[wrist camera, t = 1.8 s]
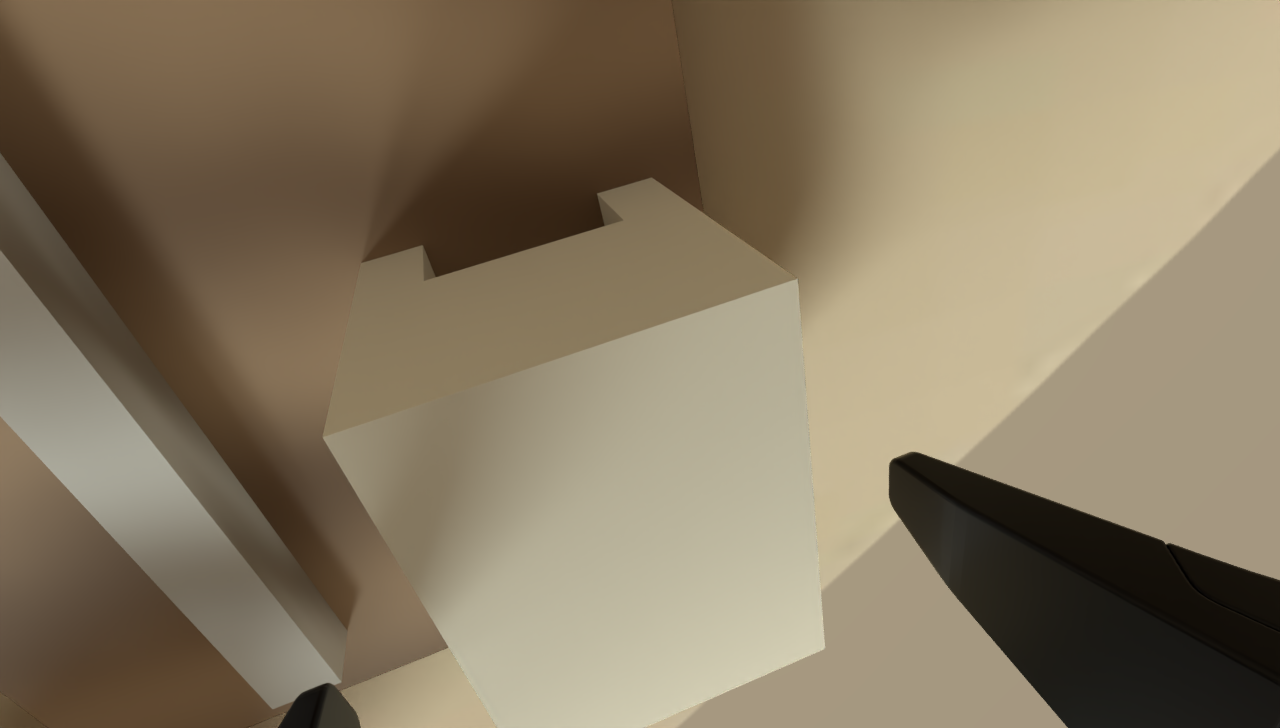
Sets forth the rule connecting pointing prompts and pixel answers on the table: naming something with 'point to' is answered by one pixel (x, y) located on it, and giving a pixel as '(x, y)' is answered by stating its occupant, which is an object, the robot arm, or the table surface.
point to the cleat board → (257, 310)
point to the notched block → (592, 462)
